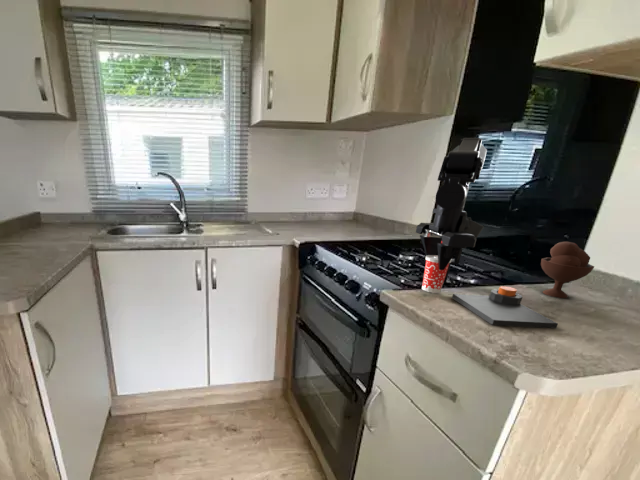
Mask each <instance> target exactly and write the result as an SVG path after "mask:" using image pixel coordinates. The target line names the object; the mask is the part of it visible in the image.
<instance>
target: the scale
mask: <svg viewBox="0 0 640 480" xmlns="http://www.w3.org/2000/svg"><path fill="white" fill-rule="evenodd" d="M498 291H499V288H498V289H497V288H494V289H491V290H490V292H489V295H485V294H467V293H466V294H465V293H464V294H463V293H452V296H451V299H453V300H454V301H456V302H457V303H459V304H460V305H462V306H463V307H465V308H466V309H467V310H469V311H471V312H472V313H473V314H475V315H477V316H478V317H479V318H481V319H482V320H483V321H486V322H487V323H488V324H490V325H492V326H505V327H521V328H522V327H524V328H540V329H541V328H542V329H543V328H544V329H557V328H558V324H559V322H557V321H554V320H552V319H550V318H548V317H546V316H545V315H542V314H541V313H539V312H537V311H535V310H533V309H531V308H529V307H528V306H525V305H524V304H522V300H523V294H520V293H518V292H516V294H515V296H506V295H502V294H499V293H498Z"/></svg>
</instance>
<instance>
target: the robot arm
mask: <svg viewBox="0 0 640 480" xmlns="http://www.w3.org/2000/svg"><path fill="white" fill-rule="evenodd" d="M482 142H483V138H480V137H463V138H460V141H459V144H458V145H457V146H455V148H453V149H452V150H450V151H449V152H448V154H447V155H446V156H444V158H443V160H442V164H441V167H440V171H439V173H438V176H437V181H438V182H443V185H442V186H440V187H439V188H438V190H437V191H436V193H435V201H436V204H437V207H436V208H433V209H432V213H433V214H435V215H434V219H433V222H420V223H419V224H417V225H416V230H415V233H416V234H419V238H420V240H421V243H422V247H423V251H424V258H423V260H424V261H426V255H438V264H439V270H444V269H445V268H446V266H447V265H448V263H449V262H450V260H451V259H452V260H451V263H449V267H448V270H447V273H446V276H445V279H444V282H443V285H444V284H445V285H446V284H447V285H451V284H452V281H450V280H448V278H449V273H450V270H451V269H450V268H451V265H453V266H455V265H459V264H460V260H461V256H462V252H463V249H466V248H475V247H476V242H477V239H478V237H479V235H480V233H482V231H483V230H484V228H485V226H484V225H482V224H480V223H478V222H476V221H473V220H472V217H468V213H467V211H465V210H464V208H465V204H466V200H467V196H468V192H469V188H470V187H469V185H470V184H472V183H474V184H475V182H476V180H479V179H480V176H481V171H482V170H483V167H484V164H485V160H486V156H487V152H488V149H487V148H486V147H485V146H484V145H483V144H482ZM441 241H442V243H441ZM420 278H422V279H423V278H424V274H421V275H420Z"/></svg>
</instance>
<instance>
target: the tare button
mask: <svg viewBox="0 0 640 480" xmlns="http://www.w3.org/2000/svg"><path fill="white" fill-rule="evenodd" d="M498 289H499V291H498V293H499V294H502V295H506V296H515V294H516V293H518V292H517V291H518V290H517V288H514V287H510V286H507V285H506V286H505V285H501V286H499V287H498Z"/></svg>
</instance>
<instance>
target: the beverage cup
mask: <svg viewBox="0 0 640 480" xmlns="http://www.w3.org/2000/svg"><path fill="white" fill-rule="evenodd" d="M441 243H442V241H441ZM452 259H453V258H452ZM452 259H451V260H452ZM451 260H450V262H449V263H451ZM449 263H448V265H447V266H446V268H445V269H444V270H439V264H438V255H426V260H425V266H424V271H423V275H424V278H422V284H421V290H423V291H425V292H428V293H434V294H436V293H437V294H438V293H441V291H442V289H443V285H444V284H443V282H444V279H445V276H446V273H447V270H448V267H449Z"/></svg>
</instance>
